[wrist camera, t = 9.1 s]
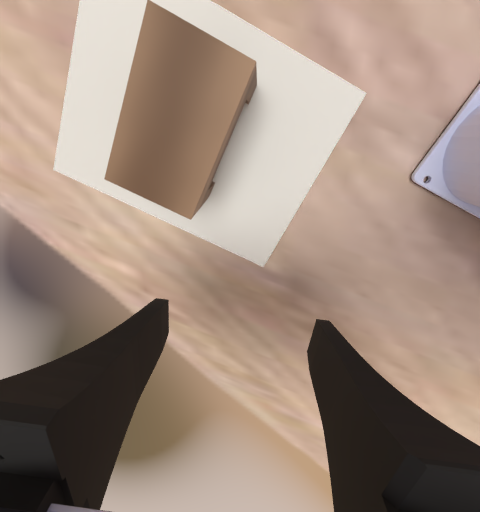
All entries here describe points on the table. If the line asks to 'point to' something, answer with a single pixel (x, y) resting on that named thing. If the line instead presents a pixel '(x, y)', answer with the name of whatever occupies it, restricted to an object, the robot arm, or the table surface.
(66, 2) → the table surface
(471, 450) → the robot arm
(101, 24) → the mat
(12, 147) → the table surface
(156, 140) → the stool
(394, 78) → the table surface
